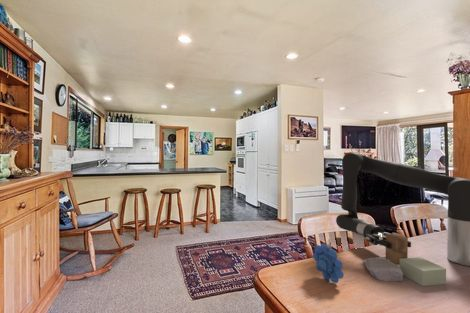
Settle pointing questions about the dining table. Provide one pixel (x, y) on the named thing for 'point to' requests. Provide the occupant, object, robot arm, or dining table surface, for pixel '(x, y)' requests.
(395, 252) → the walnut block
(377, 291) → the dining table surface
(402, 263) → the green stand
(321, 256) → the grapes
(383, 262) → the stone block
